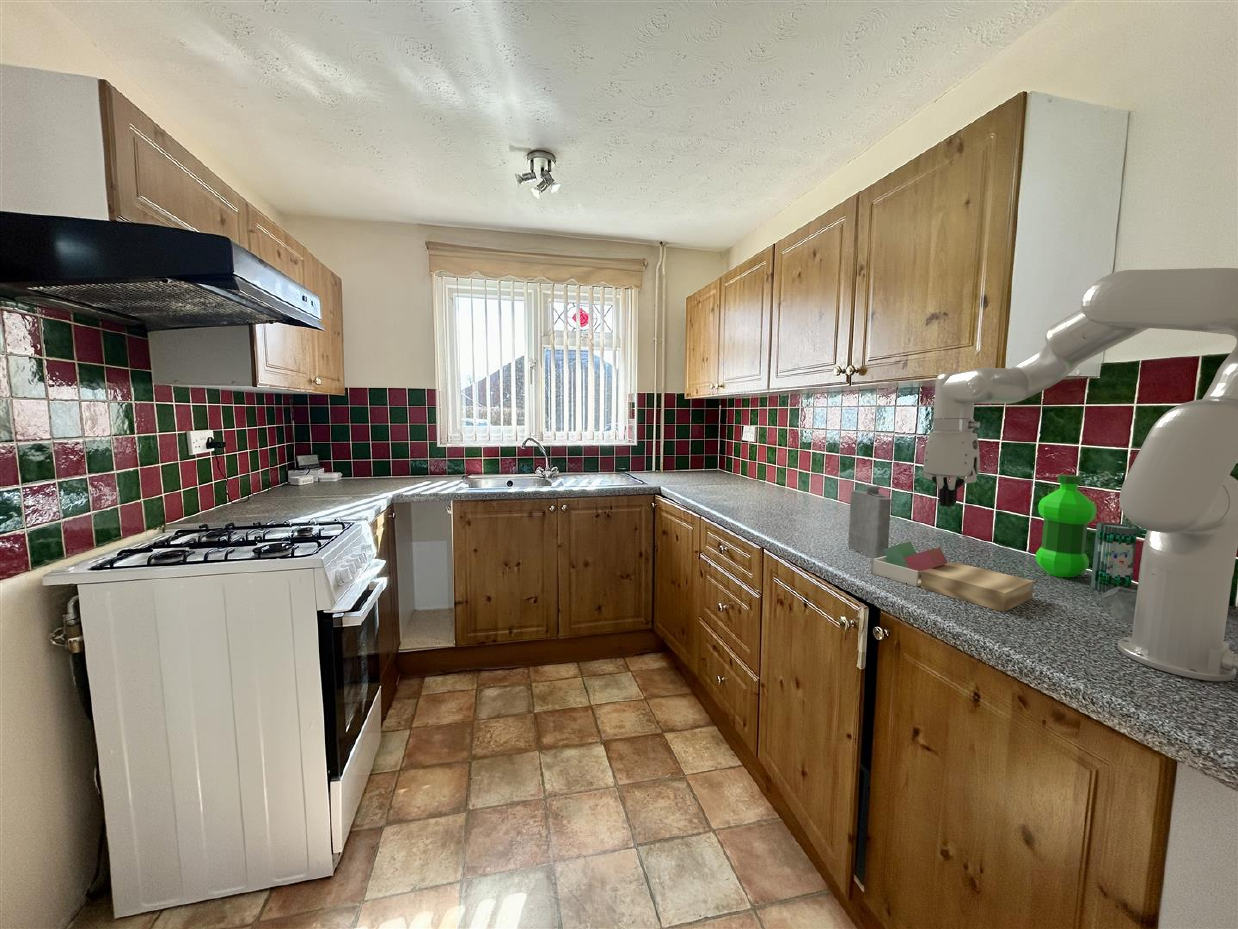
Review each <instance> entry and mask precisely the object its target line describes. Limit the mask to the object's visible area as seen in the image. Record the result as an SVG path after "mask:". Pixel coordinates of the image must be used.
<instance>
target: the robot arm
mask: <svg viewBox="0 0 1238 929" xmlns="http://www.w3.org/2000/svg"><path fill="white" fill-rule="evenodd" d="M1083 294H1084V295H1083V296H1082V298H1081V300H1080V309H1078V310H1077V311H1075V312H1073V313H1071V314H1070V315H1068V316H1066V317H1065V318H1063V319H1061V320H1060V321H1058V322H1056V323H1054V324H1052V325H1051V326H1049V327H1048V329H1046V331H1045V333H1044V341H1045V345H1044V347H1043V348H1042V349H1041V350H1039V351H1038V352H1037V353H1036V354H1034V355H1033V356H1031V357H1030V358H1029V357H1028V358H1027V359H1026V360H1024V361H1022V362H1020V363H1019V364H1017V365H1015V366H1013V367H1011V368H1006V367H980V368H979V367H977V368H974V369H970V370H966V371H949V372H942V373H939V374H938V375H937V377H935V384H934V386H935V388H934V401H933V402H934V403H933V404H934V405H933V416H932V417H933V419H932V432H929V434H928V437H927V440H926V445H925V449H924V456H923V464H922V465H923V467H922V468H923V471H924V473H923V479H926V480H930V481H933V483H934V484H936V487H937V488H938V489H939V496H938V501H939V503H940V506H941V507H946V508H949V507H954V506H955V504H956V503H957V501H958V500H957V499H958V490H959V489H960V488H962V486H964V485H965V484H972V483H976V482H977V481H978V479H977V475H979V474H980V464H981V463H980V459H981V458H980V446H979V438H978V433H976V432H973V431H974V430H975V429H978V428H980V426H981V423H980V421H975V418H974V413H975V404H981V405H983V404H984V405H987V404H988V405H992V404H995V405H997V404H1001V405H1002V404H1004V405H1009V404H1014V403H1018V402H1021V401H1023V400H1024V401H1025V400H1026V399H1028V398H1030V397H1033V396H1035V395H1037V394H1039V393H1040V392H1043V391H1045V390H1047V389H1049V388H1050V387H1053V386H1054V385H1056V384H1057V383H1059V382H1061V381H1063V379H1065V378H1066V377H1067V376H1068V375H1069V374H1072V372H1074V371H1075V369H1076V368H1077V367H1078V366H1079V365H1080V364H1083V363H1084V362H1086V361H1087V360H1090V359H1091V358H1094V357H1095V356H1097V355H1099V354H1101V353H1103V352H1106V351H1107V350H1109V349H1111V348H1113V347H1114V346H1116V345H1118V344H1120V343H1122V342H1125V341H1126V340H1129V339H1131V338H1133V337H1135V336H1136V335H1139V334H1141V333H1143V332H1144V331H1147V330H1149V329H1155V330H1156V329H1158V330H1175V331H1177V330H1178V331H1191V332H1202V333H1210V334H1211V333H1212V334H1219V335H1228V336H1229V335H1230V336H1233V337H1234V338H1235V340H1236V344H1235V347H1234V348H1233V350H1232V351H1231V352H1230V353H1229V355H1228V356H1227V357H1226V358H1225V360H1224V361H1223V362H1222V363H1221V364H1220V366H1219V368H1218V369H1217V371H1216V373H1215V376H1214V377H1213V380H1212V382H1211V384H1209V387H1208V389H1207V391H1206V392H1205V394H1204V395H1203V397H1202V399H1196V400H1191V401H1188V402H1183V403H1180V404H1178V405H1177V406H1175V407H1173V408H1171V409H1169V410H1168V411H1166V412H1165V413H1164V414H1163V415H1162V416H1161V417H1159V419H1158V420H1157V421H1156V422H1155V423H1154V425H1152V427H1151V428H1150V430H1149V432H1148V434H1147V435H1146V438H1145V440H1144V441H1143V444H1142V445H1141V448H1140V450H1139V451H1138V454H1137V455H1136V457H1135V459H1134V461H1133V463H1132V465H1131V467H1130V469H1129V471H1128V473H1127V475H1126V476H1125V479H1124V481H1123V483H1122V486H1121V488H1120V493H1119V496H1118V497H1119V500H1118V501H1119V506H1120V509H1121V511H1122V513H1123V515H1124V516H1125V517H1126V519H1127V520H1129V521H1130V522H1131V523H1132V524H1134V525H1136V526H1137V527H1138V528H1141V529H1143V530H1146V533H1145V537H1144V540H1143V545H1142V550H1141V559H1140V565H1139V573H1138V583H1137V590H1136V591H1137V598H1136V607H1135V615H1134V624H1132V625H1133V627H1132V634H1131V636H1127V637H1122V638H1120V639H1118V640H1117V646H1116V647H1117V649H1118V650H1119V652H1121V653H1122V654H1123V655H1125V656H1126V657H1128V658H1130V659H1132V660H1133V661H1136V662H1137V663H1139V664H1143V665H1145V666H1148V667H1150V668H1153V669H1156V670H1159V671H1161V672H1166V673H1168V674H1173V675H1177V676H1181V677H1183V678H1184V677H1185V678H1189V679H1190V678H1191V679H1195V680H1201V681H1209V682H1229V681H1233V680H1234V679H1236V677H1237V671H1238V654H1237V653H1235V651H1232V650H1230V645H1231V643H1230V642H1228V641H1224V640H1225V634H1226V627H1227V626H1226V625H1227V619H1228V612H1229V606H1230V597H1231V590H1232V584H1233V583H1232V582H1233V577H1234V572H1235V567H1236V566H1235V565H1236V558H1237V552H1238V479H1236V478H1235V477H1233V476H1232V475H1231V473H1232V472H1233V470H1234V468H1235V466H1236V464H1238V267H1237V268H1236V267H1205V268H1204V267H1202V268H1201V267H1200V268H1172V269H1171V268H1169V269H1167V268H1166V269H1161V268H1160V269H1123V270H1119V271H1115V272H1112V273H1109V274H1107V275H1105V276H1102V277H1101V278H1099V279H1098V280H1096V281H1095V282H1094V283H1092V284H1091V285H1090V286H1089V287H1088V288H1087V289H1086V291H1085V292H1084V293H1083ZM949 477H950V479H949Z"/></svg>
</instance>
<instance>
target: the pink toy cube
mask: <svg viewBox="0 0 1238 929" xmlns="http://www.w3.org/2000/svg"><path fill="white" fill-rule="evenodd" d="M904 560H905V562H906V564H907V566H908V568H909V569H912V570H916V571H923V570H927V569H930V568H934V567H937V566H940V565H944V564H947V563H949V562H948V560H947V558H946V557H945V554H944V552H943V551H942V549H941V547H940V546H939V547H936V548H931V549H928V550H924V551H921V552H916V554H914V555H911V556H908V557H904Z"/></svg>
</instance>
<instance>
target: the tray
mask: <svg viewBox="0 0 1238 929" xmlns="http://www.w3.org/2000/svg"><path fill="white" fill-rule="evenodd" d="M870 564H871V565H870V566H871V567H870V574H871V573H873V574H872V575H875V574H876V576H878V575H879V577H882V578H885V577H887V578H886V579H888V578H890V579H889V580H892V579H893V581H896V582H899V583H902V584H906V583H907V584H906V585H909V586H913V587H921V577H922V571H916V570H912V569H909V568H905V567H901V566H897V565H893V564H890V563H889V561H888V559H887V556H883V557H879V558H875V559H871V563H870ZM923 571H924V570H923Z"/></svg>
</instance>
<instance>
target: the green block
mask: <svg viewBox="0 0 1238 929" xmlns="http://www.w3.org/2000/svg"><path fill="white" fill-rule="evenodd" d="M883 550H884V552H885V554H886V556H887V559H888V561H889V563H890V564H893V565H897V566H901V567H905V568H908V566H907V564H906V562H905V560H904V557H908V556H911V555H914V554H917V552H916V549H915V547H914V545H913V544H912V542H911V541H907V542H902V543H900V544H895V545H892V546H888V548H886V549H883Z"/></svg>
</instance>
